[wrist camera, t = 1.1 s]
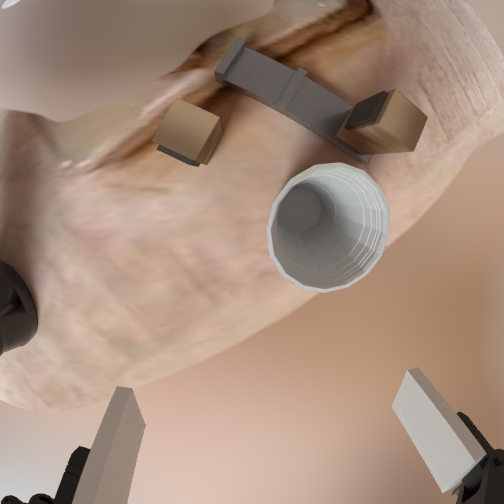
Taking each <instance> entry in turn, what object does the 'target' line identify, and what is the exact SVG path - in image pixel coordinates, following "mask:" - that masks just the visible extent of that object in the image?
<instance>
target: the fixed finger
mask: <svg viewBox="0 0 504 504" xmlns="http://www.w3.org/2000/svg"><path fill="white" fill-rule="evenodd" d="M427 118H428V117H427V116H426V115H425V114H424V113H423V112H422V111H421V110H420V109H419V108H417V107H416V106H415V105H414V104H413V103H412V102H411V101H410V100H409V99H407V98H406V97H405V96H404V95H403V94H402V93H400V92H399V91H398V90H397V89H394V90H391V91H389V92H387V93H386V92H385V91H383V92H380V93H378V94H376V95H374V96H372V97H370V98H368V99H366V100H364V101H361V102H359V103H357V104H356V106H355V107H354V108H352V109H350V111H349V113H348V115H347V117H346V119H345V120H344V122H343V124H342V126H341V128H340V130H339V132H338V134H337V135H336V136H337V137H338V138H340V139H341V140H343V141H344V142H346V143H347V144H349V145H350V146H352V147H353V148H354V149H356V150H357V151H359V152H360V153H361V154H363V155H371V154H383V153H397V152H414V149H415V147H416V145H417V143H418V140H419V138H420V135H421V133H422V131H423V128H424V126H425V123H426V121H427Z"/></svg>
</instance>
